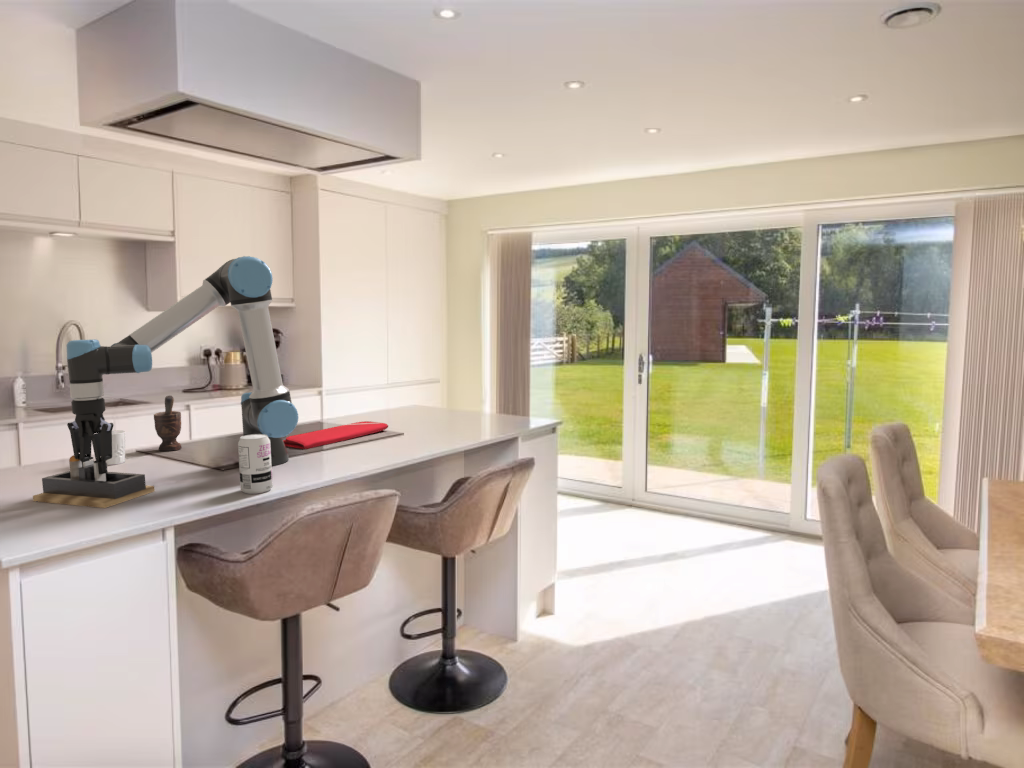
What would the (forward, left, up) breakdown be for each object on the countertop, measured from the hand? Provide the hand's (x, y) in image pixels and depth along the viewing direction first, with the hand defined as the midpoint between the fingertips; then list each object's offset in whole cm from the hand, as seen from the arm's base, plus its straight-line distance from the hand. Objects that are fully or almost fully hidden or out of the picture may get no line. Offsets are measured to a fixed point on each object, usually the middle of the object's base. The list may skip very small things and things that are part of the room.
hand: (95, 485), depth 186 cm
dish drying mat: (-19, -88, -4) cm, 90 cm away
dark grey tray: (0, 0, -2) cm, 2 cm away
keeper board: (0, 0, -3) cm, 3 cm away
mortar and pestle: (+25, -54, -3) cm, 60 cm away
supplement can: (-39, -16, -3) cm, 42 cm away
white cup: (+29, -33, -3) cm, 44 cm away
